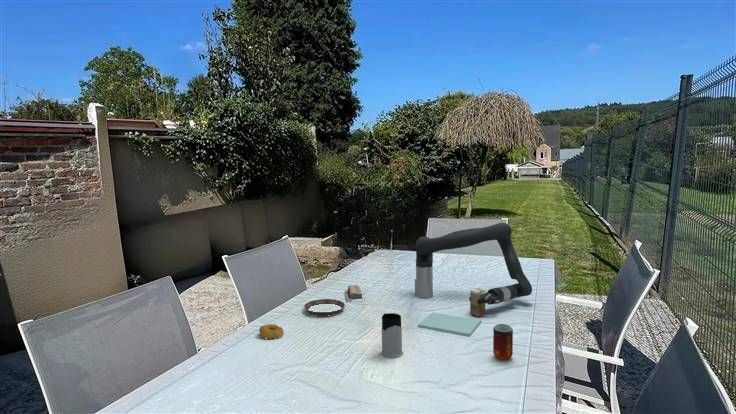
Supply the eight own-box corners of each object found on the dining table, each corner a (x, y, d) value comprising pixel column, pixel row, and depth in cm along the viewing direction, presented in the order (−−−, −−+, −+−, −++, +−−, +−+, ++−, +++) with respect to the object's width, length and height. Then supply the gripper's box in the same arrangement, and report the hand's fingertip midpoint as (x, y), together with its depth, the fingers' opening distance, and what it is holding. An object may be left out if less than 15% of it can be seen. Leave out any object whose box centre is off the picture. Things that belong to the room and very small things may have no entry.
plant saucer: (352, 307, 228) (351, 301, 227) (332, 320, 209) (332, 314, 209) (318, 302, 236) (317, 297, 236) (296, 315, 218) (296, 308, 217)
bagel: (272, 342, 185) (272, 331, 184) (254, 337, 191) (253, 326, 190) (288, 334, 193) (288, 324, 193) (270, 330, 199) (270, 320, 199)
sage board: (417, 327, 198) (417, 324, 198) (432, 314, 214) (432, 312, 214) (469, 336, 186) (469, 333, 186) (481, 322, 202) (481, 320, 202)
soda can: (501, 351, 171) (501, 321, 169) (516, 358, 165) (516, 327, 164) (489, 356, 167) (489, 325, 165) (504, 363, 161) (504, 331, 160)
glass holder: (384, 359, 166) (384, 321, 165) (374, 344, 180) (373, 309, 178) (406, 356, 168) (405, 318, 167) (394, 342, 182) (393, 307, 181)
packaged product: (344, 285, 253) (361, 284, 254) (344, 293, 254) (361, 292, 255) (346, 294, 235) (364, 293, 236) (346, 303, 236) (365, 302, 237)
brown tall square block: (477, 316, 208) (477, 291, 207) (470, 313, 212) (470, 289, 211) (485, 314, 211) (485, 290, 209) (477, 311, 215) (477, 287, 214)
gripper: (488, 284, 224) (463, 289, 215) (510, 291, 211) (484, 297, 203) (488, 298, 224) (463, 304, 216) (510, 306, 212) (484, 312, 204)
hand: (473, 300), depth 209 cm, fingers closed on brown tall square block, 5 cm apart
